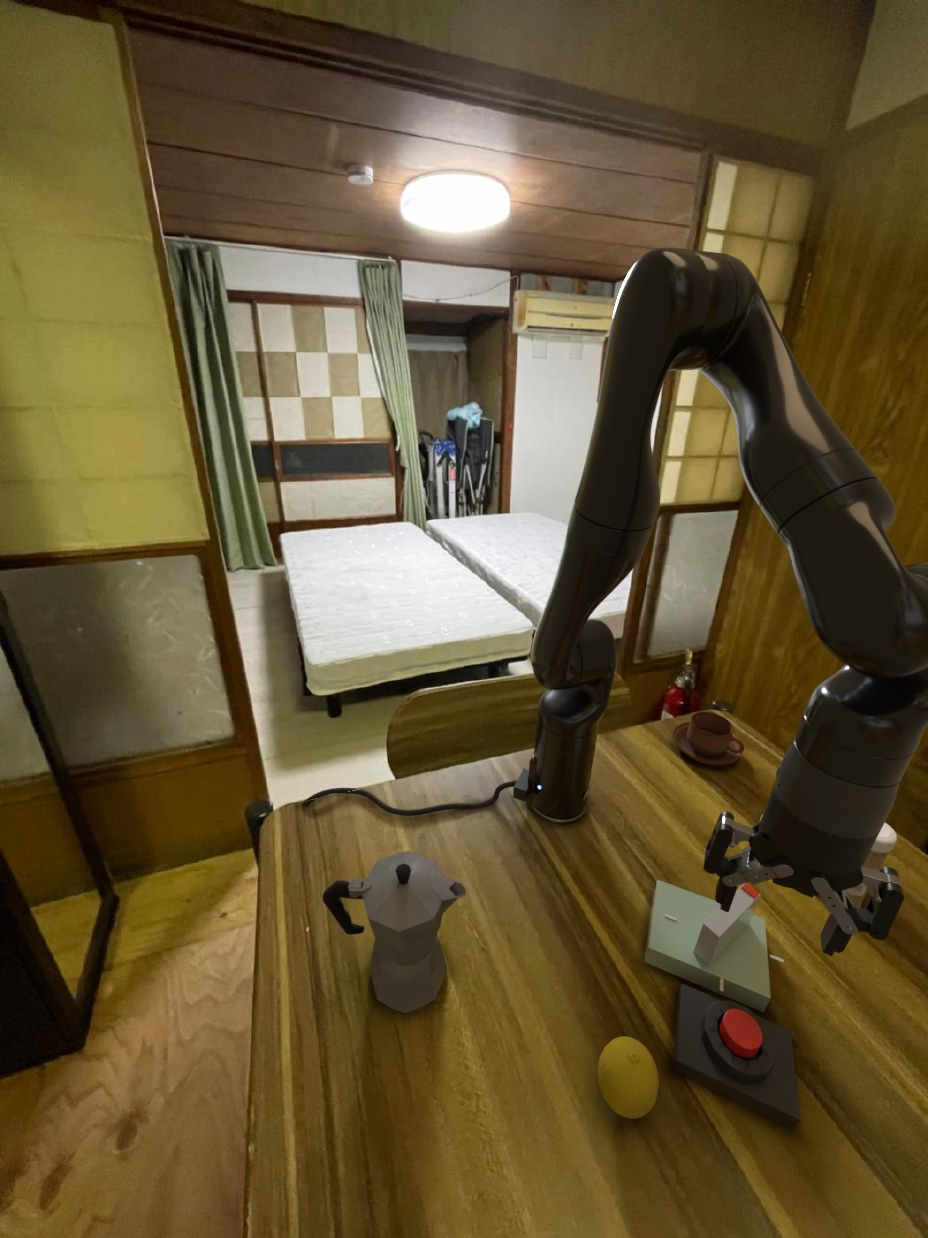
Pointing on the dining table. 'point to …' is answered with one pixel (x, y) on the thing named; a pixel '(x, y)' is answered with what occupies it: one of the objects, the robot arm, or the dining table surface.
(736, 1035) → the tap button
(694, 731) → the cup and saucer
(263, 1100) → the dining table surface
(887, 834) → the sprinkles bottle
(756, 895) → the gray rectangular block
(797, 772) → the robot arm
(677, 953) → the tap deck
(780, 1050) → the button block
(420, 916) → the coffeepot
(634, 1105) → the lemon
